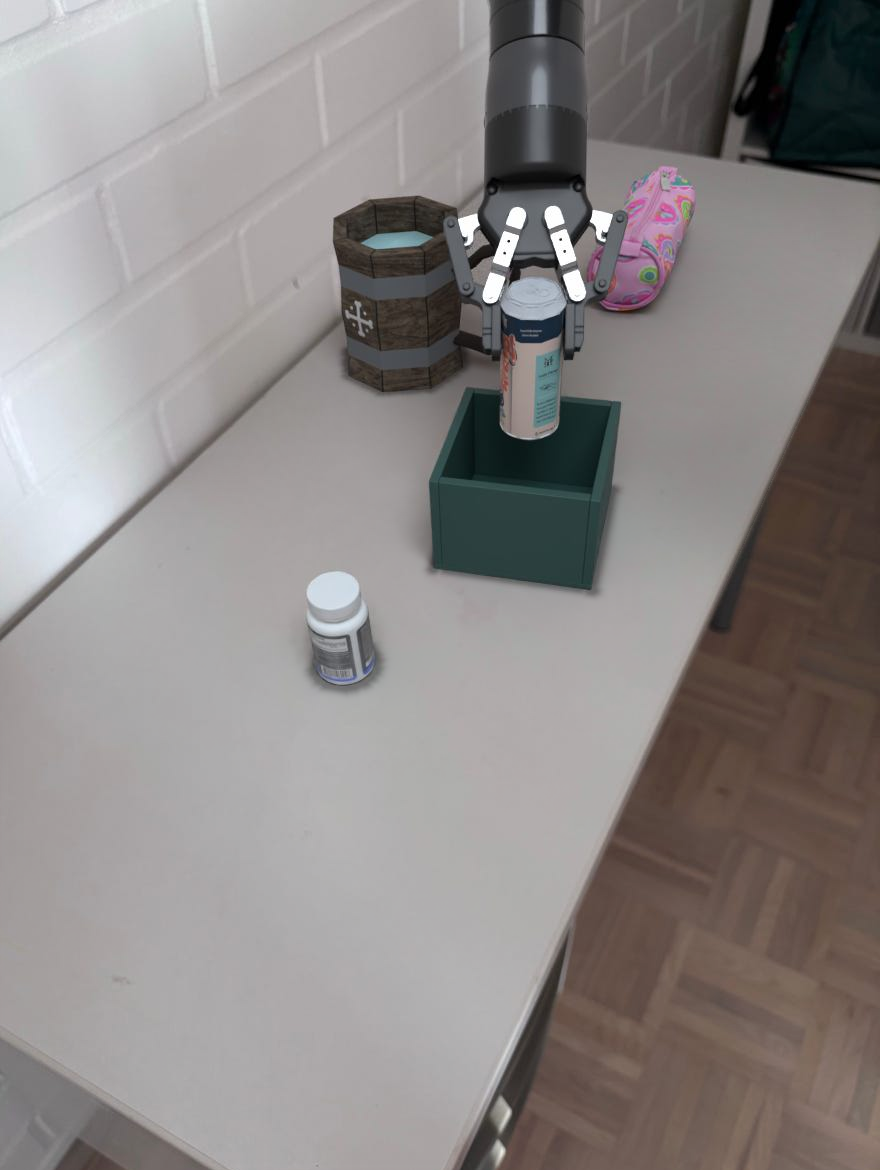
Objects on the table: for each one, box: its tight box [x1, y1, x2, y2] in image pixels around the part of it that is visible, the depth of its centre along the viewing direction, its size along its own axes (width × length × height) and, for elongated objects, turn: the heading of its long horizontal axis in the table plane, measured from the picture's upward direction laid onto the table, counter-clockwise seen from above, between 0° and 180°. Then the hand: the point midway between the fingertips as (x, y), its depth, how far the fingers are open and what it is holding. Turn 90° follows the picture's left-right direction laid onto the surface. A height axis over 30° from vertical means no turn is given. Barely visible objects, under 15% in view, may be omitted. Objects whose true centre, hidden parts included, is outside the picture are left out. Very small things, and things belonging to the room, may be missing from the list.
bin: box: [428, 386, 622, 591], centre depth 84 cm, size 14×14×10 cm
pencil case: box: [586, 165, 697, 312], centre depth 114 cm, size 21×9×9 cm, turn 157°
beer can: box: [499, 276, 567, 440], centre depth 76 cm, size 5×5×12 cm
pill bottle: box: [305, 570, 376, 686], centre depth 75 cm, size 5×5×8 cm
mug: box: [332, 195, 522, 393], centre depth 102 cm, size 20×14×15 cm
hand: (532, 357), depth 73 cm, fingers closed on beer can, 4 cm apart
